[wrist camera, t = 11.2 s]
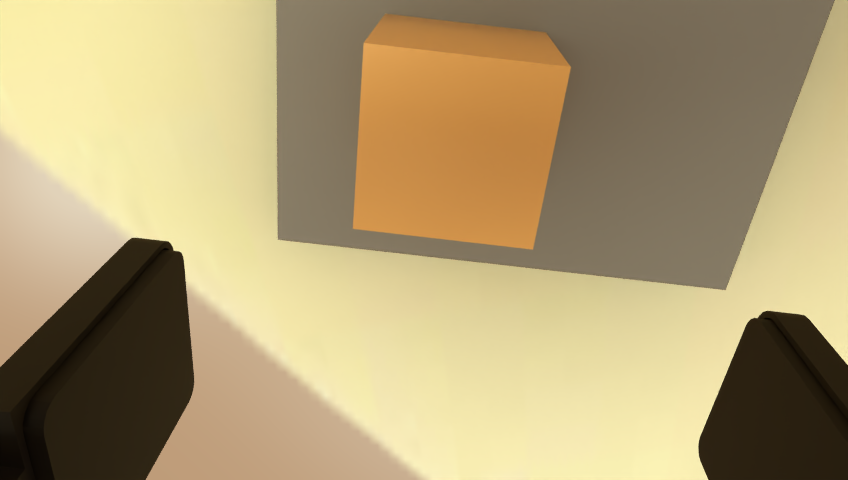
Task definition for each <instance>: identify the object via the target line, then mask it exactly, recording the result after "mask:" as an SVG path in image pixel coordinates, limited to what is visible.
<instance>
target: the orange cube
mask: <svg viewBox="0 0 848 480" xmlns="http://www.w3.org/2000/svg"><path fill="white" fill-rule="evenodd" d="M570 69H571V66H570V65H569V64H568V62H567V61H566V59H565V58H564V57H563V55H562V54H561V53H560V51H559V50H558V48H557V47H556V46H555V44H554V43H553V42H552V40H551V39H550V37H549V36H548V35H547V33H546V32H539V31H530V30H522V29H513V28H505V27H496V26H487V25H479V24H470V23H462V22H453V21H445V20H436V19H427V18H419V17H410V16H402V15H393V14H385V15H384V16H383V17H382V19H381V20H380V21H379V23H378V24H377V25H376V27H375V28H374V30H373V31H372V32H371V34H370V35H369V36H368V38H367V39H366V40H365V42H364V45H363V62H362V79H361V97H360V114H359V131H358V148H357V165H356V182H355V200H354V217H353V229H358V230H367V231H376V232H384V233H393V234H402V235H410V236H419V237H428V238H436V239H445V240H454V241H462V242H471V243H480V244H488V245H497V246H506V247H514V248H523V249H532V250H533V247H534V242H535V237H536V233H537V228H538V223H539V218H540V213H541V209H542V204H543V199H544V194H545V189H546V185H547V180H548V175H549V170H550V165H551V161H552V156H553V151H554V146H555V141H556V137H557V132H558V127H559V122H560V117H561V113H562V108H563V103H564V98H565V93H566V89H567V84H568V79H569V74H570Z"/></svg>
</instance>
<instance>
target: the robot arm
mask: <svg viewBox="0 0 848 480" xmlns="http://www.w3.org/2000/svg"><path fill="white" fill-rule="evenodd" d="M193 387H194V372H193V361H192V349H191V338H190V327H189V315H188V304H187V292H186V281H185V269H184V260H183V256H182V253H181V252H178V251H173V247H172V245H171V243H169V242H168V241H159V240H150V239H142V238H131V239H130V240H128V241H127V242H126V243H125V244H124V245H123V246H122V247H121V248H120V249H119V250H118V251H117V252H116V253H115V254H114V255H113V256H112V257H111V258H110V259H109V260H108V261H107V262H106V263H105V264H104V265H103V266H102V267H101V268H100V269H99V270H98V271H97V272H96V273H95V274H94V275H93V276H92V277H91V278H90V279H89V280H88V281H87V282H86V283H85V284H84V285H83V286H82V287H81V288H80V289H79V290H78V291H77V292H76V293H75V294H74V295H73V296H72V297H71V298H70V299H69V300H68V301H67V302H66V303H65V304H64V305H63V306H62V307H61V308H60V309H59V310H58V311H57V312H56V313H55V314H54V315H53V316H52V317H51V318H50V319H48V320H47V321H46V322H45V323H44V325H43V326H41V328H39V329H38V330H37V331H36V332H35V333H34V334H33V335H32V336H31V337H30V338H29V339H28V340H27V341H26V342H25V343H24V344H23V345H22V346H21V347H20V348H19V349H18V350H17V351H16V352H15V353H14V354H13V355H12V356H11V357H10V358H9V359H8V360H7V361H6V362H5V363H4V364H3V365H2V366H1V367H0V480H146V478H147V476H148V474H149V472H150V471H151V469H152V467H153V465H154V464H155V462H156V460H157V458H158V456H159V455H160V453H161V451H162V449H163V448H164V446H165V444H166V442H167V440H168V439H169V437H170V435H171V433H172V431H173V430H174V428H175V426H176V424H177V422H178V421H179V419H180V417H181V415H182V413H183V412H184V410H185V408H186V406H187V404H188V403H189V400H190V398H191V395H192V392H193ZM699 457H700V461H701V463H702V466H703V468H704V470H705V473H706V475H707V477H708V480H848V365H847V364H846V363H845V362H844V360H843V359H842V358H841V357H840V356H839V354H838V353H837V352H836V351H835V350H834V348H833V347H832V346H831V345H830V344H829V342H828V341H827V340H826V339H825V338H824V337H823V335H822V334H821V333H820V332H819V331H818V329H817V328H816V327H815V326H814V325H813V323H812V322H811V321H810V320H809V319H808V318H807V317H806V316H804V315H799V314H791V313H782V312H773V311H765V312H763V313H762V314H761V315H760V316H759V317H758V318H753V319H751V320H750V321H749V322H748V323H747V325H746V327H745V330H744V332H743V334H742V337H741V339H740V342H739V344H738V347H737V349H736V351H735V354H734V356H733V359H732V361H731V364H730V366H729V368H728V371H727V373H726V376H725V378H724V381H723V383H722V385H721V388H720V390H719V393H718V395H717V398H716V400H715V402H714V405H713V407H712V410H711V412H710V415H709V417H708V419H707V422H706V424H705V427H704V429H703V431H702V434H701V436H700V440H699Z"/></svg>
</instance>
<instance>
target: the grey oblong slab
mask: <svg viewBox="0 0 848 480" xmlns="http://www.w3.org/2000/svg"><path fill="white" fill-rule="evenodd" d="M834 1H835V0H276V6H277V174H278V240H286V241H295V242H304V243H313V244H322V245H331V246H340V247H349V248H357V249H366V250H375V251H384V252H393V253H402V254H411V255H420V256H428V257H437V258H446V259H455V260H464V261H473V262H482V263H491V264H500V265H508V266H517V267H526V268H535V269H544V270H553V271H562V272H571V273H579V274H588V275H597V276H606V277H615V278H624V279H633V280H642V281H650V282H659V283H668V284H677V285H686V286H695V287H704V288H713V289H722V290H726V287H727V285H728V282H729V279H730V277H731V274H732V271H733V269H734V266H735V263H736V261H737V258H738V255H739V253H740V250H741V248H742V245H743V242H744V240H745V237H746V234H747V232H748V229H749V226H750V224H751V221H752V218H753V216H754V213H755V210H756V208H757V205H758V202H759V200H760V197H761V194H762V192H763V189H764V186H765V184H766V181H767V179H768V176H769V173H770V171H771V168H772V165H773V163H774V160H775V157H776V155H777V152H778V149H779V147H780V144H781V141H782V139H783V136H784V133H785V131H786V128H787V125H788V123H789V120H790V117H791V115H792V112H793V110H794V107H795V104H796V102H797V99H798V96H799V94H800V91H801V88H802V86H803V83H804V80H805V78H806V75H807V72H808V70H809V67H810V64H811V62H812V59H813V56H814V54H815V51H816V48H817V46H818V43H819V41H820V38H821V35H822V33H823V30H824V27H825V25H826V22H827V19H828V17H829V14H830V11H831V9H832V6H833V3H834ZM385 14H393V15H402V16H410V17H419V18H427V19H436V20H445V21H453V22H462V23H470V24H479V25H487V26H496V27H505V28H513V29H522V30H530V31H539V32H546V33H547V35H548V36H549V37H550V39H551V40H552V42H553V43H554V44H555V46H556V47H557V48H558V50H559V51H560V53H561V54H562V55H563V57H564V58H565V59H566V61H567V62H568V64H569V65H570V66H571V69H570V74H569V79H568V84H567V89H566V93H565V98H564V103H563V108H562V113H561V117H560V122H559V127H558V132H557V137H556V141H555V146H554V151H553V156H552V161H551V165H550V170H549V175H548V180H547V185H546V189H545V194H544V199H543V204H542V209H541V213H540V218H539V223H538V228H537V233H536V237H535V242H534V247H533V250H532V249H523V248H514V247H506V246H497V245H488V244H480V243H471V242H462V241H454V240H445V239H436V238H428V237H419V236H410V235H402V234H393V233H384V232H376V231H367V230H358V229H353V217H354V200H355V182H356V165H357V148H358V131H359V114H360V97H361V79H362V62H363V45H364V42H365V40H366V39H367V38H368V36H369V35H370V34H371V32H372V31H373V30H374V28H375V27H376V25H377V24H378V23H379V21H380V20H381V19H382V17H383V16H384V15H385Z"/></svg>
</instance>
